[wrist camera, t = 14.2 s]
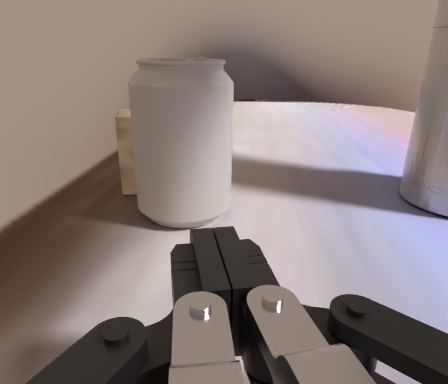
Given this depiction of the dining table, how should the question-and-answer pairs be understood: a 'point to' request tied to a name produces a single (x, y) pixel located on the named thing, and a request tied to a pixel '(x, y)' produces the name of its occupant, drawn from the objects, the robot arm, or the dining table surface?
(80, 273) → the dining table surface
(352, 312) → the robot arm
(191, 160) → the can
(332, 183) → the dining table surface
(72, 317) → the dining table surface
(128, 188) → the block
